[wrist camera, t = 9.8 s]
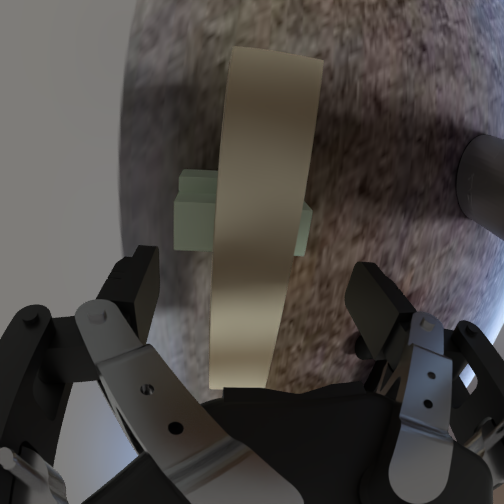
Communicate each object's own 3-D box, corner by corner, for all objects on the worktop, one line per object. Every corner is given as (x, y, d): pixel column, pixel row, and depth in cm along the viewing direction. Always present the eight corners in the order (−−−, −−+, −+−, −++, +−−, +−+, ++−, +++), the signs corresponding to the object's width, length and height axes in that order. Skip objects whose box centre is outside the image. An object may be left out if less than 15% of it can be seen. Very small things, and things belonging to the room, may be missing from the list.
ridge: (183, 168, 19) (174, 184, 15) (296, 177, 20) (315, 194, 16) (181, 235, 22) (173, 264, 18) (286, 240, 23) (301, 269, 19)
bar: (228, 64, 13) (233, 46, 9) (295, 73, 13) (323, 60, 9) (208, 340, 21) (209, 388, 17) (256, 341, 21) (264, 388, 17)
